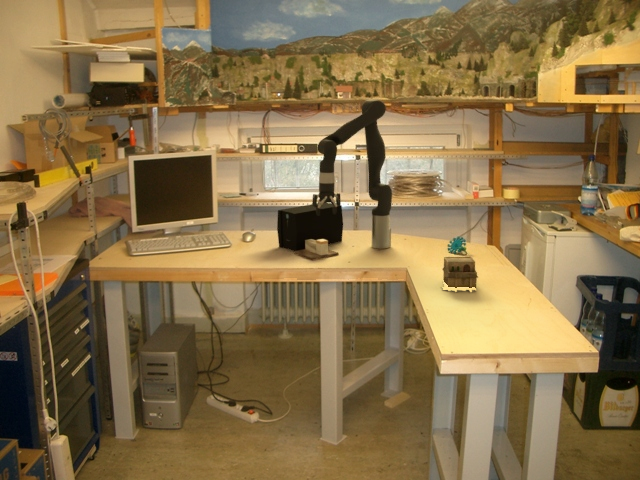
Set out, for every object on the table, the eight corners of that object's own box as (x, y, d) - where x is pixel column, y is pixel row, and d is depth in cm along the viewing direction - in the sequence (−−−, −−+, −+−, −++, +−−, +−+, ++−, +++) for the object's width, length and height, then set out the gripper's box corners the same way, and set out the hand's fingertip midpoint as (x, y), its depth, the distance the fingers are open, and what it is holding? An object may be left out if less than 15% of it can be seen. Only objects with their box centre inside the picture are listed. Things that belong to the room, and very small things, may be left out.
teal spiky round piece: (442, 247, 308) (455, 233, 309) (448, 254, 311) (460, 239, 312) (457, 255, 299) (470, 240, 300) (462, 262, 302) (475, 247, 303)
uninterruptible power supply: (277, 246, 322) (276, 209, 318) (325, 236, 344) (325, 201, 339) (297, 252, 310) (296, 214, 305) (345, 241, 331) (345, 205, 327)
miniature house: (437, 281, 260) (437, 255, 257) (470, 281, 259) (471, 255, 256) (443, 293, 245) (444, 265, 242) (478, 292, 245) (479, 265, 242)
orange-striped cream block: (322, 252, 305) (322, 238, 303) (328, 254, 301) (328, 240, 299) (316, 253, 302) (315, 240, 301) (321, 255, 299) (321, 241, 297)
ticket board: (320, 248, 317) (320, 237, 315) (338, 255, 304) (338, 242, 302) (294, 253, 308) (294, 241, 307) (311, 260, 295) (311, 247, 294)
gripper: (336, 180, 301) (335, 212, 304) (310, 181, 295) (309, 214, 298) (343, 182, 294) (342, 215, 298) (316, 183, 288) (316, 217, 291)
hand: (326, 214), depth 298 cm, fingers open, 8 cm apart
